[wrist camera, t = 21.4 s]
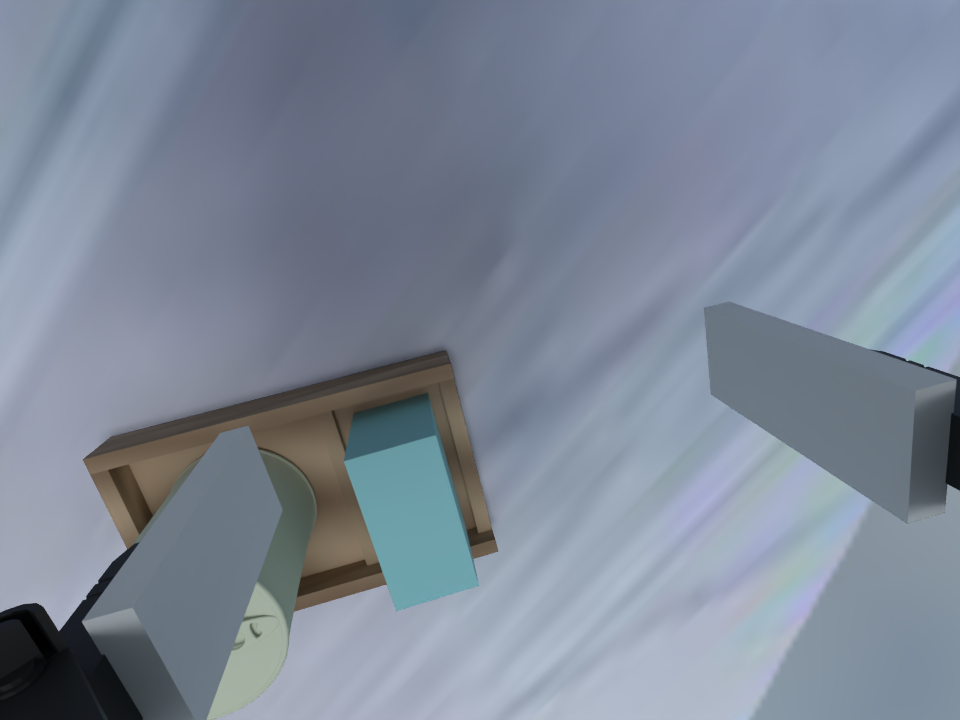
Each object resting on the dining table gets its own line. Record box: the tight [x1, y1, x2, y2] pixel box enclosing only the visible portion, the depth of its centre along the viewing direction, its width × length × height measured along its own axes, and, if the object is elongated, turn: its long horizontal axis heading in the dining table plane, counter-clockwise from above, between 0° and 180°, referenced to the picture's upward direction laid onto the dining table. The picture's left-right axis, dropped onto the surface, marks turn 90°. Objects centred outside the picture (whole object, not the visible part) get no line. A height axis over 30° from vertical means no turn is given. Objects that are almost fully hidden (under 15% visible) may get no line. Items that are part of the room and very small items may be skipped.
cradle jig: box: [83, 351, 498, 611], centre depth 35 cm, size 14×22×3 cm, turn 103°
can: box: [132, 449, 317, 720], centre depth 29 cm, size 9×9×12 cm
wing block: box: [344, 393, 479, 611], centre depth 33 cm, size 10×5×7 cm, turn 14°
